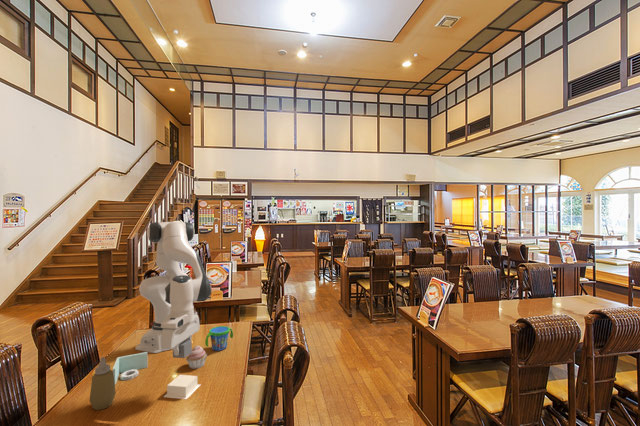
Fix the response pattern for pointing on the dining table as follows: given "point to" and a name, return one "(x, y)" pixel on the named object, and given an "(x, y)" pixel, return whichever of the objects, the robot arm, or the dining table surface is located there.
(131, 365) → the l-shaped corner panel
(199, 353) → the cupcake
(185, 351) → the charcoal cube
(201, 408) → the dining table surface
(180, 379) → the cream base block
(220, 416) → the dining table surface
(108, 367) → the squeeze bottle
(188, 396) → the light grey flat slab
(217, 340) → the snack cup
